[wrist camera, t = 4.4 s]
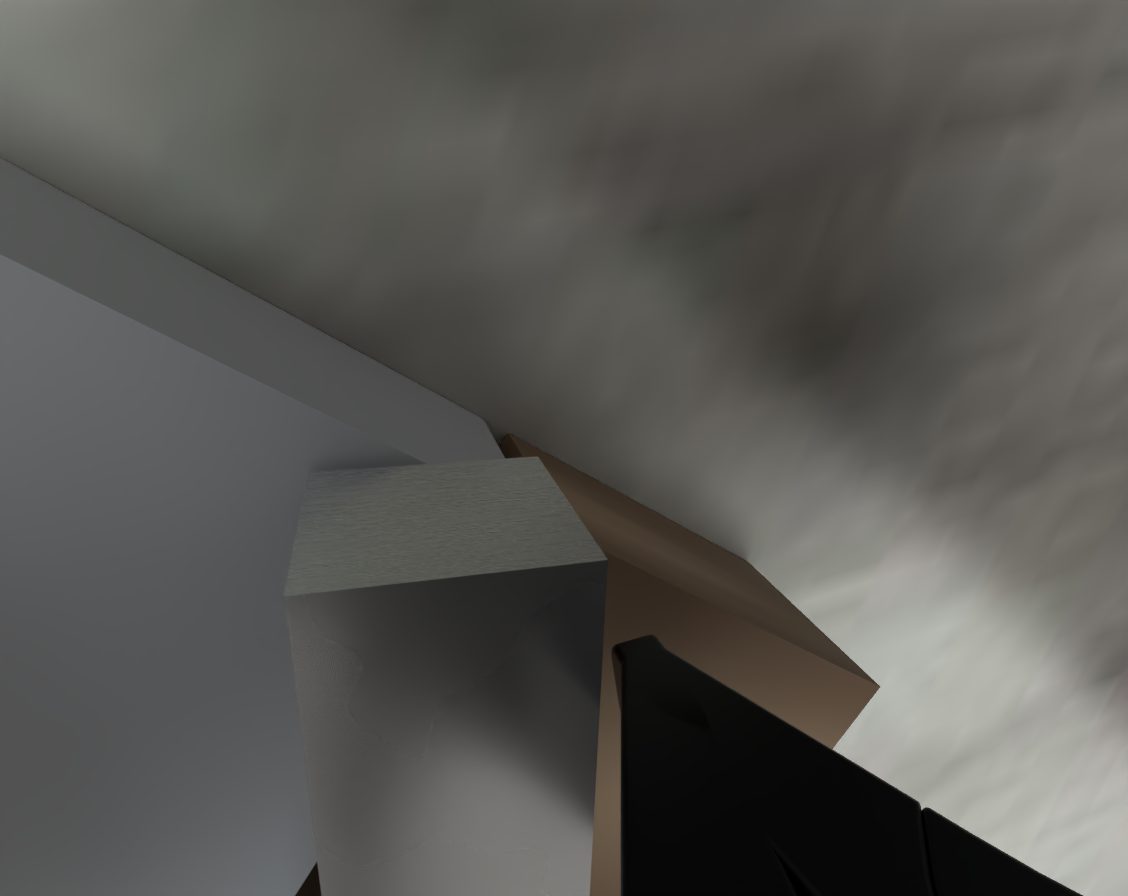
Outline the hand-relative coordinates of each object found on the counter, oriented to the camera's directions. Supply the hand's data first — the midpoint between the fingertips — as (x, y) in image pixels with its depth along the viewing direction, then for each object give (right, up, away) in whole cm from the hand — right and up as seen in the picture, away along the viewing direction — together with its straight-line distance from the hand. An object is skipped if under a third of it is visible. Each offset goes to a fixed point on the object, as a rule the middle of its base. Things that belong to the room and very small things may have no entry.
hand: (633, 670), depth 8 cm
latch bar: (-2, -3, +1) cm, 4 cm away
